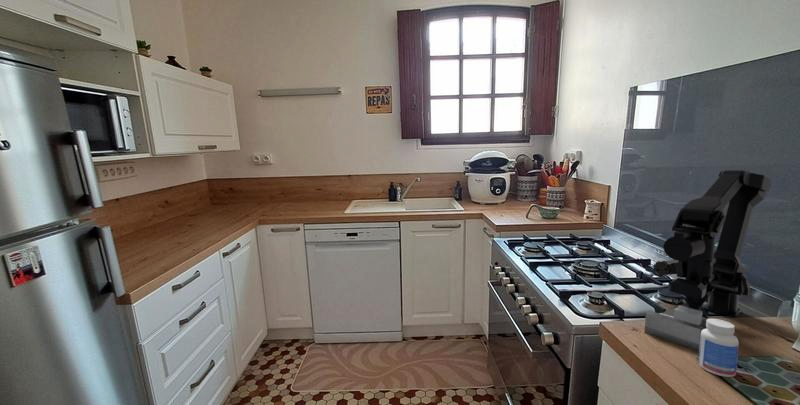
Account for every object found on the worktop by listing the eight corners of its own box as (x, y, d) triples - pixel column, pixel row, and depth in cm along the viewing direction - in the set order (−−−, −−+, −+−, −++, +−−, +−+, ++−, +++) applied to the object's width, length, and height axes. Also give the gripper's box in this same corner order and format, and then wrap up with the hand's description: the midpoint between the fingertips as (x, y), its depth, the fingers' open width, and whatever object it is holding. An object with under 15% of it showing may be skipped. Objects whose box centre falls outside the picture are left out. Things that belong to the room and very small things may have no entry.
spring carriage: (664, 312, 85) (665, 301, 85) (701, 323, 79) (702, 311, 79) (659, 316, 83) (660, 305, 83) (696, 327, 77) (697, 315, 77)
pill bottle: (744, 379, 61) (748, 331, 60) (710, 376, 62) (715, 328, 61) (721, 362, 67) (725, 317, 66) (691, 359, 68) (695, 315, 67)
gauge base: (668, 313, 89) (670, 295, 88) (718, 327, 80) (720, 308, 80) (644, 332, 79) (645, 312, 78) (698, 350, 71) (700, 329, 70)
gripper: (670, 242, 92) (667, 294, 94) (645, 254, 82) (642, 312, 84) (724, 250, 83) (719, 307, 85) (703, 264, 73) (698, 329, 75)
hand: (693, 313), depth 82 cm, fingers closed
